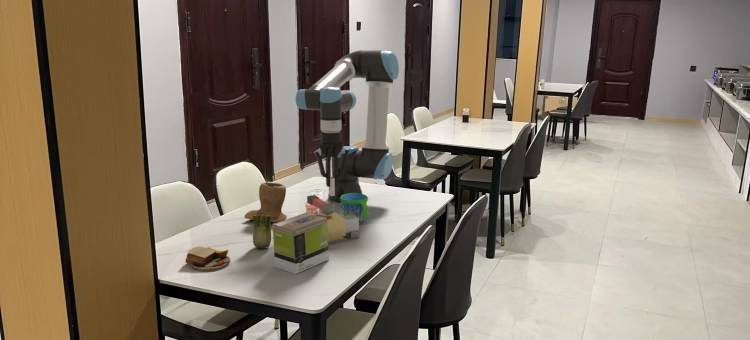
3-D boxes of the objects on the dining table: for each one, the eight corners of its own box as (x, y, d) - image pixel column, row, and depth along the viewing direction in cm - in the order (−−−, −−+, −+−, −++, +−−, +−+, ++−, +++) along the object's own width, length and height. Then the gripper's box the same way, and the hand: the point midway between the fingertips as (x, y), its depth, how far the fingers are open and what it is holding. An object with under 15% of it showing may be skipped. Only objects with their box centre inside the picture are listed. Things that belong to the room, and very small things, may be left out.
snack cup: (376, 225, 230) (376, 199, 228) (352, 229, 225) (352, 203, 223) (356, 214, 243) (356, 190, 241) (333, 218, 238) (332, 193, 236)
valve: (296, 242, 211) (295, 215, 209) (351, 232, 222) (351, 206, 219) (304, 249, 205) (303, 220, 203) (360, 238, 216) (360, 210, 214)
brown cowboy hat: (292, 217, 239) (291, 181, 235) (278, 226, 228) (276, 188, 225) (259, 213, 244) (258, 177, 241) (243, 222, 233) (241, 184, 230)
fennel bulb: (273, 247, 207) (272, 214, 204) (263, 251, 203) (262, 217, 200) (260, 244, 210) (258, 211, 207) (250, 248, 206) (249, 215, 203)
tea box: (307, 253, 201) (306, 211, 198) (329, 260, 195) (328, 217, 192) (273, 267, 190) (271, 222, 186) (295, 275, 184) (294, 229, 180)
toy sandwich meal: (213, 274, 184) (212, 260, 183) (179, 267, 190) (178, 253, 189) (238, 260, 195) (237, 247, 194) (205, 254, 201) (204, 241, 200)
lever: (336, 213, 210) (336, 206, 210) (325, 215, 208) (325, 207, 207) (316, 201, 224) (316, 194, 224) (305, 203, 222) (305, 196, 221)
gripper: (316, 133, 209) (317, 199, 214) (351, 131, 213) (351, 195, 218) (310, 130, 215) (311, 193, 221) (345, 128, 220) (345, 190, 225)
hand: (331, 194), depth 220 cm, fingers closed
